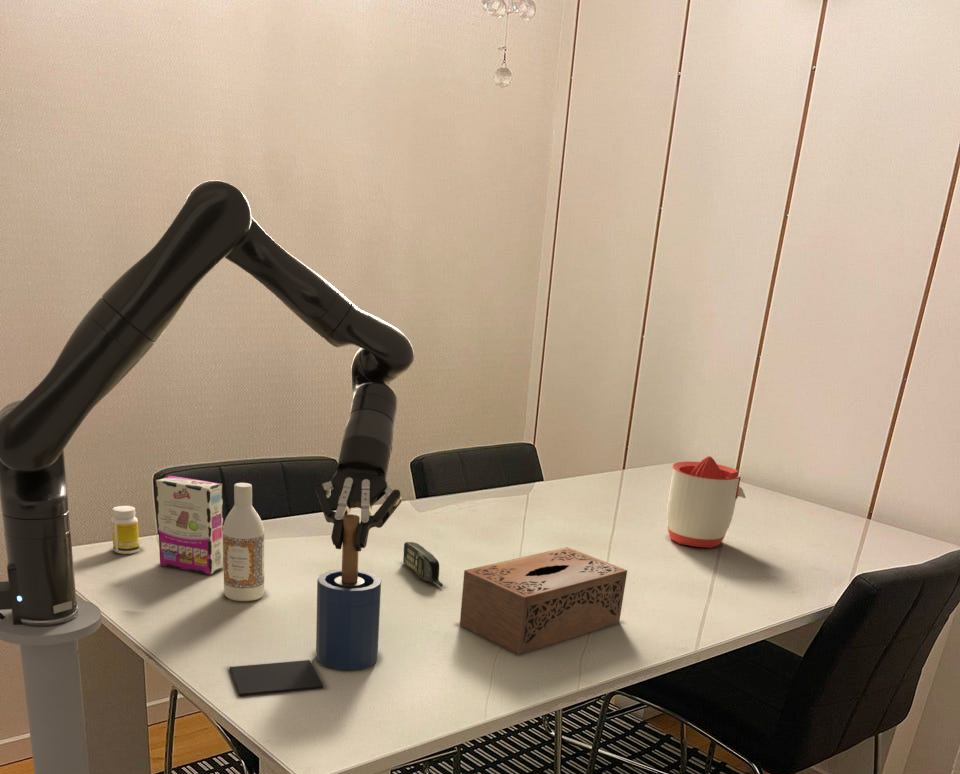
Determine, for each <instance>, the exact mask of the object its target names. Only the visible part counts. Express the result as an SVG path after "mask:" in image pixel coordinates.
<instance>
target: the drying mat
mask: <svg viewBox="0 0 960 774" xmlns="http://www.w3.org/2000/svg"><path fill="white" fill-rule="evenodd" d="M229 671H230V673H231V676H232V679H233V682H234V685H235V687H236V690H237V693H238V695H239V697H246V696H255V695H265V694H266V695H267V694H277V693H278V694H279V693H287V692H288V693H289V692H298V691H307V690H308V691H309V690H317V689H319V690H320V689H324V683H322V681H321V679H320V677H319V675H318V673H317V671H316V669H315V668H314V665H313V664H312V662H311V660H310V659H307V660H296V661H285V662H284V661H283V662H273V663H272V662H271V663H260V664H248V665H235V666H229Z"/></svg>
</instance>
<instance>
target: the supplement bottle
mask: <svg viewBox="0 0 960 774" xmlns="http://www.w3.org/2000/svg"><path fill="white" fill-rule="evenodd" d="M112 516H113V517H112V518H111V533H112V534H111V535H112V545H113V551H114V552H115V553H117V554H121V555H130V554H134V553H137V552H139V551H140V536H139V535H140V534H139V533H140V532H139V521H138V520H139V519H138V518H137V517H136V508H135V507H134V506H131V505H117V506H114V507H112Z"/></svg>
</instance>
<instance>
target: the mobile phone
mask: <svg viewBox="0 0 960 774" xmlns="http://www.w3.org/2000/svg"><path fill="white" fill-rule="evenodd" d="M402 560H403V564H404V565H406V566H407V567H408V568H409V569H410V570H412V572H413V573H415V574H416V575H417V576H418V578H420V579H421V580H423V581H425V582H427V583H435V584H436V585H437V586H439V587H440V588H441V587H443V586H444V584H443V583H442V582H441V581H440V580H439V578H440V561H439V560H438V559H437V558H436V557H435V556H434V555H433V553H431V552H430V551H429V550H427V549H426V548H425V547H423V546H422V545H420V544H419V543H417V542H414V541H406V542H404V544H403V559H402Z"/></svg>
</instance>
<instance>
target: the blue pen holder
mask: <svg viewBox="0 0 960 774" xmlns="http://www.w3.org/2000/svg"><path fill="white" fill-rule="evenodd" d="M339 576H342V568H341V569H340V568H339V569H333V570H328V571H325V572H323V573H321V574H319V575H318V577H317V580H316V582H317V585H316V627H315V629H316V633H315V635H316V636H315V637H316V638H315V652H316V654H315V655H316V656H315V657H316V660H317V662H318V663H319V664H320V665H322V666H324V667H326V668H328V669H331V670H337V671H346V672H348V671H351V672H352V671H361V670H365V669H367V668H370V667H372V666H373V665H375V664H376V662H377V661H378V652H379V637H380V617H381V616H380V615H381V596H382V594H381V593H382V592H381V591H382V579H381V578H380V576H378V575H376V574H374V573H372V572H369V571H365V570H360V569H358V577H360V578H362V579H364V581H365V587H363V588H352V589H350V588H340V587H336V586H334V579H335V578H337V577H339Z"/></svg>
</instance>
